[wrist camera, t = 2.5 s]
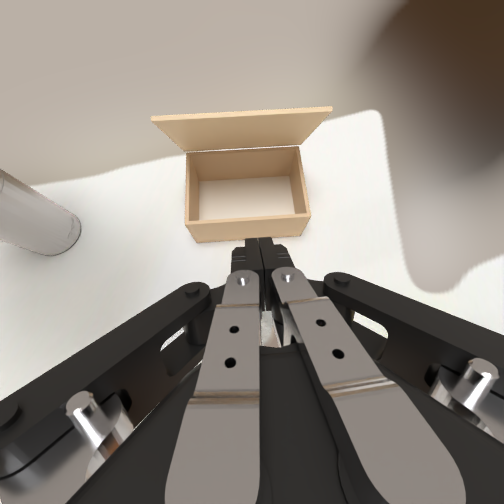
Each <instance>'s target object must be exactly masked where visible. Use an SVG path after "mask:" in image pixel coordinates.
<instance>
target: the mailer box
mask: <svg viewBox="0 0 504 504" xmlns="http://www.w3.org/2000/svg"><path fill="white" fill-rule="evenodd" d="M310 218H311V213H310V207H309V201H308V196H307V190H306V184H305V179H304V173H303V167H302V162H301V156H300V150H299V146H294V147H277V148H260V149H243V150H226V151H208V152H191V153H186V194H185V226H186V227H187V229H188V230H189V232H190V233H191V235H192V236H193V238H194V239H195V241H196V242H197V243H202V242H216V241H231V240H245V238H257V239H258V237H271V238H275V237H289V236H301V234H302V232H303V230H304V229H305V227H306V225H307V223H308V221H309V219H310Z"/></svg>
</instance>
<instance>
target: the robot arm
mask: <svg viewBox="0 0 504 504" xmlns="http://www.w3.org/2000/svg"><path fill="white" fill-rule="evenodd" d="M80 228H81V226H80V222H79V220H78V218H77V217H76V216H75V215H73V214H72V213H70V212H69V211H67V210H65V209H64V208H62V207H61V206H59V205H58V204H56V203H54V202H53V201H51V200H50V199H48V198H46V197H45V196H43V195H42V194H40V193H38V192H37V191H35V190H34V189H32V188H30V187H29V186H27V185H25V184H24V183H22V182H21V181H19V180H17V179H16V178H14V177H13V176H11V175H10V174H8V173H6V172H5V171H3V170H1V169H0V240H1V241H4V242H7V243H10V244H13V245H16V246H19V247H22V248H25V249H28V250H30V251H33V252H36V253H39V254H42V255H48V256H49V255H56V254H60V253H62V252H64V251H66V250H67V249H69V248H70V247H71V246H72V245H73V244H74V243H75V242H76V240H77V239H78V237H79V234H80ZM264 300H265V303H264ZM265 306H266V311H272V324H273V328H274V331H275V335H276V338H277V342H278V345H279V348H274V347H266V346H261V319H262V311H265ZM355 312H357V313H359V314H361V315H363V316H365V317H367V318H369V319H371V320H373V321H375V322H377V323H379V324H381V325H382V326H383V327H384V328H385V329H386V330H387V332H388V339H387V338H385V337H383V336H381V335H379V334H377V333H375V332H374V331H372V330H370V329H368V328H366V327H364V326H362V325H361V324H359V323H357V322H355V321H353V318H354V314H355ZM182 327H183V328H184V332H183V333H182V334H181V335H180V336H179V337H177V338H176V339H175V340H174V341H172V342H171V343H170V344H169V345H168V346H166V347H165V348H164V349H163V350H162V351H160V350H161V347H162V345H163V344H164V342H165V341H166V340H167V339H169V338H170V337H171V336H172V335H174V334H175V333H176V332H177V331H179V330H180V329H181V328H182ZM202 359H203V360H202ZM201 360H202V363H201V364H199V365H198V366H196V365H197V364H198V363H199V362H200V361H201ZM195 366H196V367H195ZM194 367H195V368H194ZM151 411H152V412H151ZM150 412H151V413H150ZM149 413H150V414H149ZM148 414H149V415H148ZM147 415H148V416H147ZM146 416H147V417H146ZM145 417H146V418H145ZM144 418H145V419H144ZM143 419H144V420H143ZM142 420H143V421H142ZM141 421H142V422H141ZM140 422H141V423H140ZM139 423H140V424H139ZM138 424H139V425H138ZM137 425H138V426H137ZM136 426H137V428H136V429H135V430H134V431H133V429H134V428H135V427H136ZM0 499H1V503H2V504H504V335H501V334H499V333H496V332H494V331H491V330H489V329H486V328H484V327H481V326H479V325H476V324H474V323H471V322H469V321H466V320H463V319H461V318H458V317H456V316H453V315H451V314H448V313H446V312H443V311H441V310H438V309H436V308H433V307H431V306H428V305H426V304H423V303H421V302H418V301H415V300H413V299H410V298H408V297H405V296H403V295H400V294H398V293H395V292H393V291H390V290H388V289H385V288H383V287H380V286H378V285H375V284H372V283H370V282H367V281H365V280H362V279H360V278H357V277H355V276H352V275H350V274H347V273H342V272H333V273H329V274H327V275H326V276H325V277H324V282H323V281H315V280H309V279H306V277H305V276H304V274H303V273H302V271H300V270H299V269H296V268H295V266H294V264H293V262H292V260H291V257H290V255H289V254H288V251H287V248H286V247H284V246H283V245H281V244H277V245H274V244H273V241H272V238H271V237H258V239H257V238H245V247H236V248H235V249H234V250H233V251H232V262H231V274H230V275H229V276H228V277H227V281H226V284H224V285H222V286H220V287H217V288H214V289H210V288H209V286H208V285H207V284H205V283H202V282H192V283H188V284H185V285H183V286H181V287H180V288H178V289H177V290H175V291H173V292H172V293H170V294H169V295H167V296H166V297H164V298H162V299H161V300H159V301H158V302H156V303H155V304H153V305H151V306H150V307H148V308H147V309H145V310H143V311H142V312H140V313H139V314H137V315H136V316H134V317H132V318H131V319H129V320H128V321H126V322H125V323H123V324H121V325H120V326H118V327H117V328H115V329H114V330H112V331H110V332H109V333H107V334H106V335H104V336H102V337H101V338H99V339H98V340H96V341H95V342H93V343H91V344H90V345H88V346H87V347H85V348H84V349H82V350H80V351H79V352H77V353H76V354H74V355H72V356H71V357H69V358H68V359H66V360H65V361H63V362H61V363H60V364H58V365H57V366H55V367H54V368H52V369H50V370H49V371H47V372H46V373H44V374H42V375H41V376H39V377H38V378H36V379H35V380H33V381H31V382H30V383H28V384H27V385H25V386H24V387H22V388H20V389H19V390H17V391H16V392H14V393H13V394H11V395H9V396H8V397H6V398H5V399H3V400H1V401H0Z"/></svg>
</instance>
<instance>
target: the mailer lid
mask: <svg viewBox="0 0 504 504" xmlns="http://www.w3.org/2000/svg"><path fill="white" fill-rule="evenodd" d="M331 112H332V106H330V107H314V108H313V107H311V108H293V109H275V110H256V111H238V112H221V113H220V112H219V113H201V114H183V115H165V116H151V121H152V122H153V123H154V124H155V125H156V126H157V127H158V128H159V129H160V130H161V131H163V132H164V133H165V134H166V135H167V136H168V137H169V138H170V139H171V140H172V141H173V142H174V143H175V144H177V145H178V146H179V147H180V148H181V149H182V150H183V151H185V152H186V151H204V150H221V149H238V148H255V147H272V146H289V145H301V144H302V143H303V142H304V141H305V140H306V139H307V138H308V137H309V136H310V134H311V133H312V132H313V131H314V130H315V129H316V128H317V127H318V126H319V125H320V124H321V123H322V122H323V121H324V119H325V118H326V117H327V116H328V115H329V114H330V113H331Z"/></svg>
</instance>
